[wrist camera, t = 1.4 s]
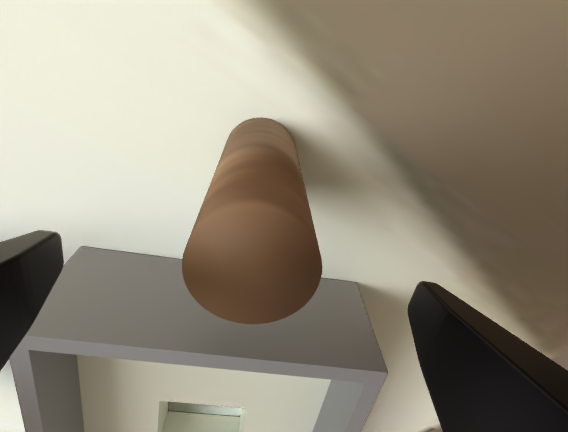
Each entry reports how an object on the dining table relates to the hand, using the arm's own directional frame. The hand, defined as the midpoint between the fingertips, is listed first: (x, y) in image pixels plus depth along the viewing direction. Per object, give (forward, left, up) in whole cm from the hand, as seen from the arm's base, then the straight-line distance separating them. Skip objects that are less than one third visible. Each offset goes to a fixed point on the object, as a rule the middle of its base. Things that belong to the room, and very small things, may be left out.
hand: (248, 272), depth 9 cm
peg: (0, 0, -10) cm, 10 cm away
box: (-1, -18, -10) cm, 21 cm away
